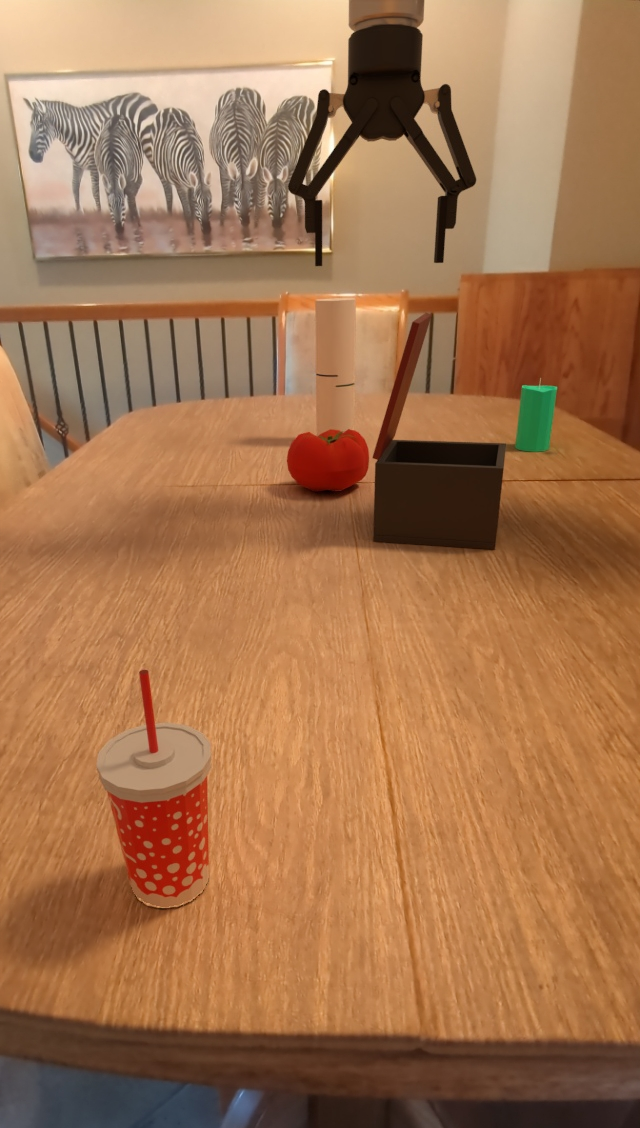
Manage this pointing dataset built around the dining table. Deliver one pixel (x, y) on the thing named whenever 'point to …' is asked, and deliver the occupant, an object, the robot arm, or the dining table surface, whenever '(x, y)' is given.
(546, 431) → the candle
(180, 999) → the dining table surface
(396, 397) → the box lid
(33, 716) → the dining table surface
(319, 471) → the tomato
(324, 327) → the cylindrical container
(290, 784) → the dining table surface
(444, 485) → the open box
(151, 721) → the beverage cup
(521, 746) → the dining table surface
